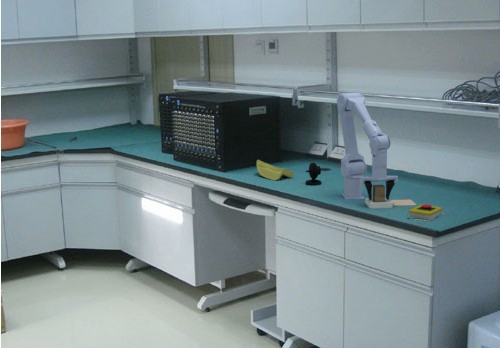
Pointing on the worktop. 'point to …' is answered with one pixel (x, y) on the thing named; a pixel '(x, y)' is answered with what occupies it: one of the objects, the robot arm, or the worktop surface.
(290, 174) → the plastic component
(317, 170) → the webcam
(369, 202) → the pocket block
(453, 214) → the worktop surface
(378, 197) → the peg
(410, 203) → the pad
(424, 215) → the emergency button
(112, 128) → the worktop surface
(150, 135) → the worktop surface
